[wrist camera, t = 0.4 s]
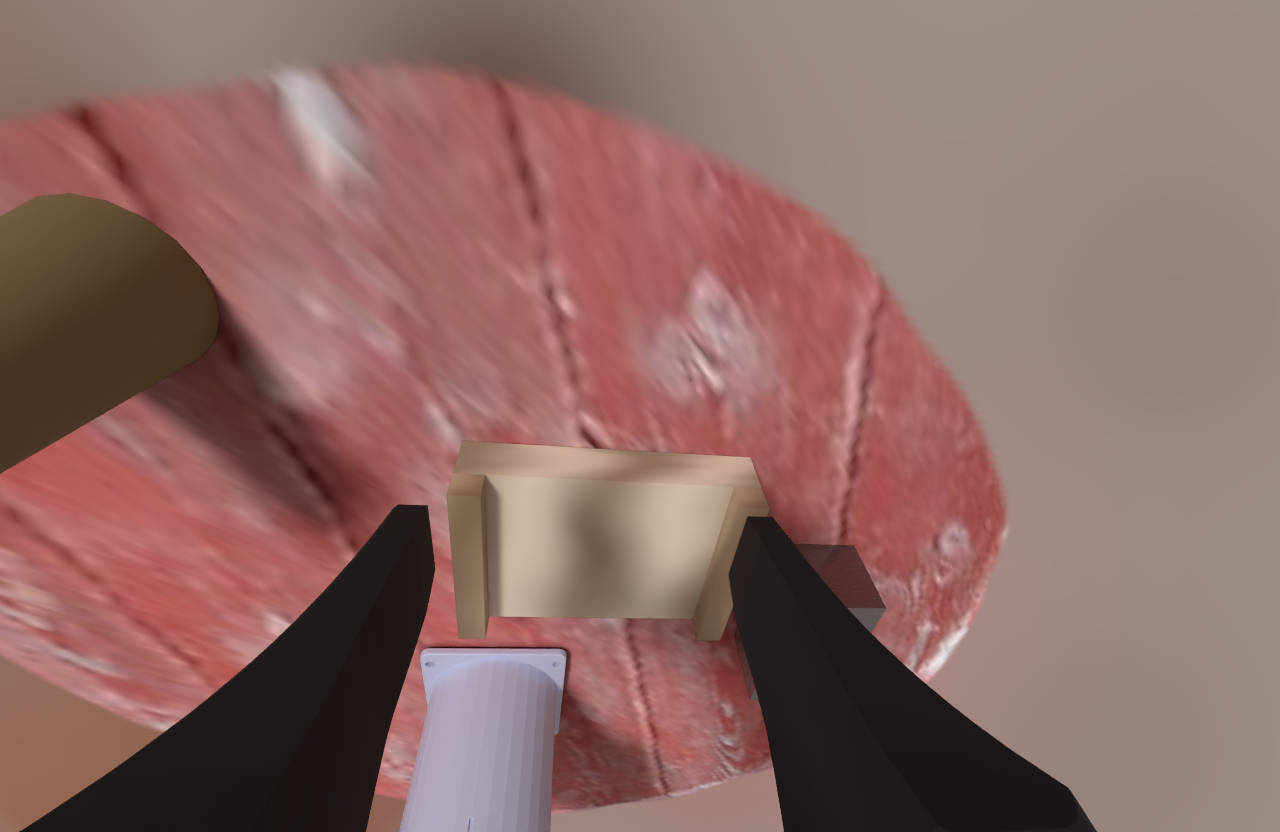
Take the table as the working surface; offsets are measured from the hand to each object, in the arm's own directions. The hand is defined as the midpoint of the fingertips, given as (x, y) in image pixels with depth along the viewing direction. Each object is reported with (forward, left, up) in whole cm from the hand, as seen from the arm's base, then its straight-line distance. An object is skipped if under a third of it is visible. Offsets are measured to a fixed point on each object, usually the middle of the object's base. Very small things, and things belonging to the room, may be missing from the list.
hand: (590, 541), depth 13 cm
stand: (-10, -1, -10) cm, 14 cm away
